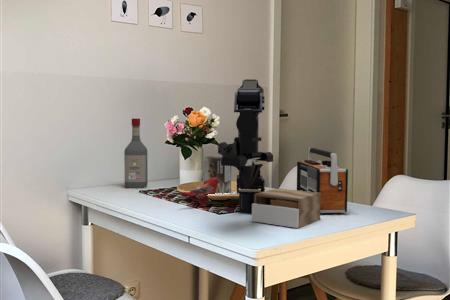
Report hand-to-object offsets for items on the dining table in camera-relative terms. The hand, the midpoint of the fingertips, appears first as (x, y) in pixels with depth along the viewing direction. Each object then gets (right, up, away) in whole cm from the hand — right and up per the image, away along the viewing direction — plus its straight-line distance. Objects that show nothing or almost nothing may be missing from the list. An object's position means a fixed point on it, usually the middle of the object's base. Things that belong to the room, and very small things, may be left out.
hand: (247, 189), depth 137 cm
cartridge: (+12, -9, +10) cm, 19 cm away
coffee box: (-9, -8, +46) cm, 48 cm away
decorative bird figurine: (-15, -9, +31) cm, 36 cm away
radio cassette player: (+27, -9, +33) cm, 43 cm away
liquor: (-45, -6, +77) cm, 89 cm away
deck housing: (+13, -10, +11) cm, 20 cm away
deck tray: (+12, -10, +10) cm, 18 cm away
